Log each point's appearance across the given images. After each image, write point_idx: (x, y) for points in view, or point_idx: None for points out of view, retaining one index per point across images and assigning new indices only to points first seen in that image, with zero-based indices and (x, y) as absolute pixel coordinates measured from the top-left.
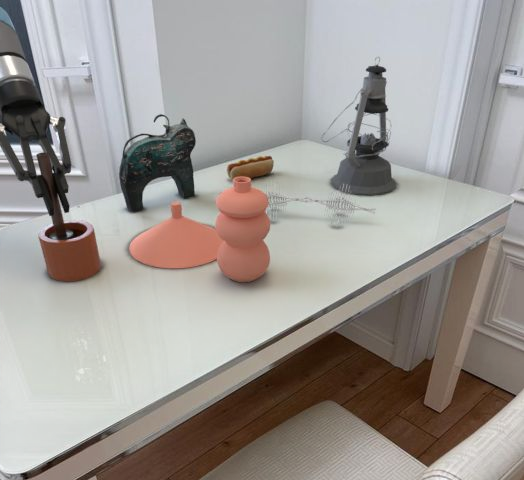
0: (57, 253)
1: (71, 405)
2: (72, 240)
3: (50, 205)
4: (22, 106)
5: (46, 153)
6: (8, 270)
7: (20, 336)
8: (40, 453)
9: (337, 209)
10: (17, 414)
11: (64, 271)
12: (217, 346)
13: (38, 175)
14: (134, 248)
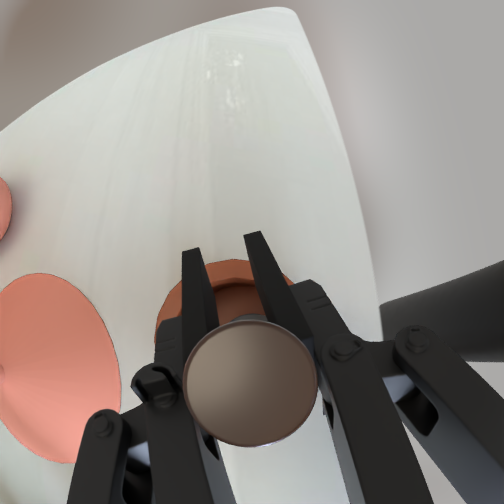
0: None
1: (247, 34)
2: (216, 266)
3: (255, 239)
4: None
5: (201, 392)
6: None
7: (320, 131)
8: (270, 11)
9: None
10: (296, 35)
11: None
12: (91, 84)
13: (305, 337)
14: (107, 378)
